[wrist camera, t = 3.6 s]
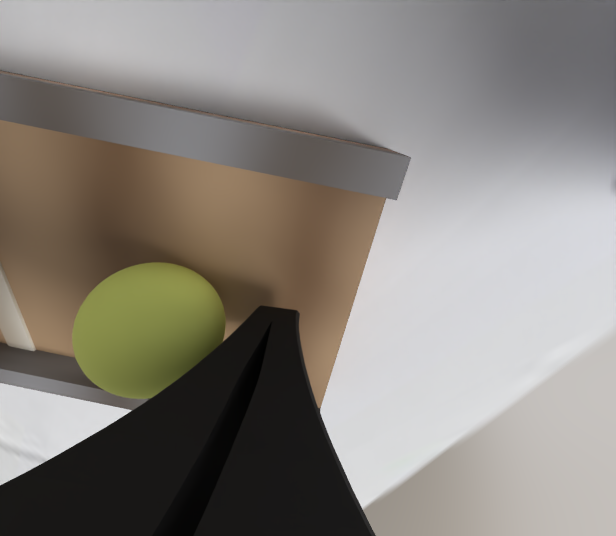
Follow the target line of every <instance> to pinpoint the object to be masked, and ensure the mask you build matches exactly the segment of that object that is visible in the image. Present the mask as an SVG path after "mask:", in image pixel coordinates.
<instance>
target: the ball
mask: <svg viewBox="0 0 616 536" xmlns="http://www.w3.org/2000/svg"><path fill="white" fill-rule="evenodd" d="M225 328H226V318H225V312H224V307H223V304H222V301H221V299H220V297H219V295H218V293H217V292H216V290H215V289H214V288H213V286H212V285H211V284H210V283H209V282H208V281H207V280H206V279H205V278H203V277H202V276H201V275H199V274H198V273H196V272H195V271H193V270H191V269H188V268H186V267H183V266H180V265H176V264H171V263H160V262H152V263H144V264H138V265H134V266H131V267H128V268H125V269H123V270H120V271H118V272H116V273H114V274H112V275H111V276H109V277H108V278H106V279H105V280H103V281H102V282H101V283H99V284H98V285H97V286H96V287H95V288H94V289H93V290H92V291H91V292H90V294H89V295H88V296H87V297H86V299H85V300H84V302H83V303H82V305H81V306H80V308H79V311H78V313H77V315H76V318H75V321H74V326H73V332H72V344H73V350H74V354H75V358H76V360H77V362H78V364H79V366H80V368H81V369H82V371H83V372H84V374H85V375H86V376H87V377H88V378H89V379H90V380H91V381H92V382H93V383H94V384H95V385H97V386H98V387H100V388H101V389H103V390H105V391H107V392H109V393H112V394H114V395H117V396H121V397H125V398H133V399H148V398H152V397H154V396H155V395H157V394H158V393H159V392H161V391H162V390H164V389H165V388H166V387H168V386H169V385H171V384H172V383H173V382H175V381H176V380H177V379H179V378H180V377H181V376H183V375H184V374H185V373H186V372H188V371H189V370H190V369H192V368H193V367H194V366H195V365H197V364H198V363H199V362H200V361H201V360H202V359H204V358H205V357H206V356H207V355H208V354H210V353H211V352H212V351H213V350H214V349H216V348H217V347H218V346H219V345H220V344H221V343H222V342H223V339H224V335H225Z"/></svg>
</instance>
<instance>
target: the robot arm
mask: <svg viewBox="0 0 616 536" xmlns="http://www.w3.org/2000/svg"><path fill="white" fill-rule="evenodd" d="M299 317H300V313H299V312H298V311H297V310H292V309H285V308H277V307H270V306H262V305H261V306H259V307H258V308H257V309H256V310H255V311H254V312H253V313H252V314H251V315H250V316H249V317H248V318H247V319H246V320H245V321H244V322H243V323H242V324H241V325H240V326H239V327H238V328H237V329H236V330H235V331H234V332H233V333H232V334H231V335H230V336H229V337H228V338H226V339H225V340H224V341H223V342H222V343H221V344H220V345H219V346H218V347H217V348H216V349H214V350H213V351H212V352H211V353H210V354H208V355H207V356H206V357H205V358H204V359H202V360H201V361H200V362H199V363H198V364H197V365H195V366H194V367H193V368H192V369H190V370H189V371H188V372H186V373H185V374H184V375H183V376H181V377H180V378H179V379H177V380H176V381H175V382H173V383H172V384H171V385H169V386H168V387H166V388H165V389H164V390H162V391H161V392H159V393H158V394H157V395H155V396H154V397H152V398H151V399H149V400H148V401H146V402H145V403H143V404H142V405H140V406H139V407H137V408H136V409H134V410H132V411H131V412H129V413H128V414H126V415H125V416H123V417H122V418H120V419H118V420H117V421H115V422H114V423H112V424H110V425H109V426H107V427H106V428H104V429H102V430H100V431H99V432H97V433H95V434H93V435H92V436H90V437H88V438H87V439H85V440H83V441H81V442H80V443H78V444H76V445H74V446H73V447H71V448H69V449H67V450H66V451H64V452H62V453H61V454H59V455H57V456H55V457H53V458H52V459H50V460H48V461H46V462H44V463H43V464H41V465H39V466H37V467H35V468H33V469H31V470H29V471H28V472H26V473H24V474H22V475H20V476H18V477H16V478H14V479H12V480H10V481H8V482H6V483H4V484H2V485H0V536H376V535H375V533H374V532H373V530H372V528H371V526H370V524H369V522H368V520H367V518H366V516H365V514H364V512H363V510H362V508H361V506H360V504H359V502H358V500H357V498H356V496H355V494H354V492H353V489H352V487H351V485H350V483H349V481H348V478H347V476H346V474H345V472H344V469H343V467H342V465H341V463H340V461H339V458H338V456H337V454H336V452H335V449H334V447H333V445H332V443H331V440H330V438H329V435H328V433H327V430H326V428H325V425H324V422H323V420H322V417H321V414H320V412H319V409H318V406H317V403H316V400H315V397H314V394H313V391H312V388H311V384H310V381H309V377H308V374H307V370H306V366H305V362H304V357H303V352H302V347H301V341H300V333H299Z"/></svg>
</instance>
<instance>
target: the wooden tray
mask: <svg viewBox="0 0 616 536" xmlns="http://www.w3.org/2000/svg"><path fill="white" fill-rule="evenodd" d="M410 159H411V157H408V156H405V155H403V154H400V153H397V152H395V151H392V150H390V149H386V148H381V147H376V146H371V145H366V144H361V143H356V142H351V141H346V140H341V139H337V138H332V137H327V136H322V135H317V134H312V133H307V132H302V131H297V130H292V129H287V128H282V127H277V126H272V125H267V124H262V123H257V122H252V121H247V120H242V119H237V118H233V117H228V116H223V115H218V114H213V113H208V112H203V111H198V110H193V109H188V108H183V107H178V106H173V105H168V104H163V103H158V102H153V101H148V100H143V99H138V98H133V97H129V96H124V95H119V94H114V93H109V92H104V91H99V90H94V89H89V88H84V87H79V86H74V85H69V84H64V83H59V82H54V81H49V80H44V79H39V78H34V77H29V76H25V75H20V74H15V73H10V72H5V71H0V383H4V384H8V385H13V386H18V387H23V388H28V389H33V390H37V391H42V392H47V393H52V394H57V395H62V396H67V397H71V398H76V399H81V400H86V401H91V402H96V403H100V404H105V405H110V406H115V407H120V408H125V409H129V410H134V409H136V408H137V407H139V406H140V405H142V404H143V403H145V402H146V401H148V400H149V399H151V398H148V399H133V398H125V397H121V396H117V395H114V394H112V393H109V392H107V391H105V390H103V389H101V388H100V387H98V386H97V385H95V384H94V383H93V382H92V381H91V380H90V379H89V378H88V377H87V376H86V375H85V374H84V372H83V371H82V369H81V368H80V366H79V364H78V362H77V360H76V358H75V354H74V350H73V344H72V332H73V326H74V321H75V318H76V315H77V313H78V311H79V308H80V306H81V305H82V303H83V302H84V300H85V299H86V297H87V296H88V295H89V294H90V292H91V291H92V290H93V289H94V288H95V287H96V286H97V285H98V284H99V283H101V282H102V281H103V280H105V279H106V278H108V277H109V276H111V275H112V274H114V273H116V272H118V271H120V270H123V269H125V268H128V267H131V266H134V265H138V264H144V263H152V262H160V263H171V264H176V265H180V266H183V267H186V268H188V269H191V270H193V271H195V272H196V273H198V274H199V275H201V276H202V277H203V278H205V279H206V280H207V281H208V282H209V283H210V284H211V285H212V286H213V288H214V289H215V290H216V292H217V293H218V295H219V297H220V299H221V301H222V304H223V307H224V312H225V318H226V328H225V335H224V339H223V341H224V340H225V339H226V338H228V337H229V336H230V335H231V334H232V333H233V332H234V331H235V330H236V329H237V328H238V327H239V326H240V325H241V324H242V323H243V322H244V321H245V320H246V319H247V318H248V317H249V316H250V315H251V314H252V313H253V312H254V311H255V310H256V309H257V308H258V307H259V306H261V305H262V306H270V307H277V308H285V309H292V310H297V311H298V312H299V313H300V317H299V333H300V341H301V347H302V352H303V357H304V362H305V366H306V370H307V374H308V377H309V381H310V384H311V388H312V391H313V394H314V397H315V400H316V403H317V406H318V409H319V412H320V408H321V404H322V401H323V398H324V395H325V392H326V388H327V385H328V382H329V379H330V376H331V372H332V369H333V366H334V363H335V360H336V357H337V353H338V350H339V347H340V344H341V341H342V337H343V334H344V331H345V328H346V325H347V321H348V318H349V315H350V312H351V309H352V306H353V302H354V299H355V296H356V293H357V290H358V286H359V283H360V280H361V277H362V274H363V270H364V267H365V264H366V261H367V258H368V254H369V251H370V248H371V245H372V242H373V239H374V235H375V232H376V229H377V226H378V223H379V219H380V216H381V213H382V210H383V207H384V203H385V200H386V198H388V199H393V200H397V198H398V195H399V192H400V189H401V186H402V183H403V180H404V177H405V174H406V171H407V168H408V165H409V162H410Z"/></svg>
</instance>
